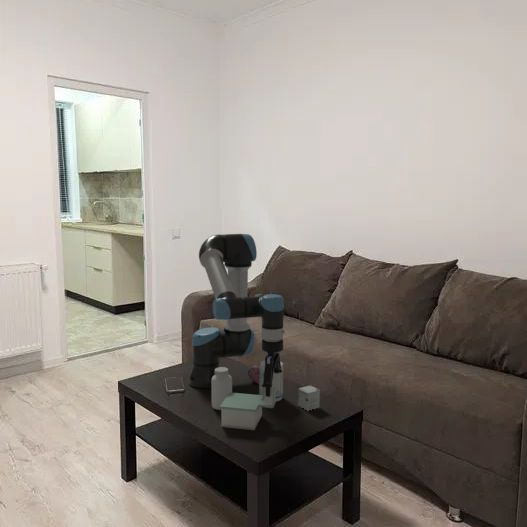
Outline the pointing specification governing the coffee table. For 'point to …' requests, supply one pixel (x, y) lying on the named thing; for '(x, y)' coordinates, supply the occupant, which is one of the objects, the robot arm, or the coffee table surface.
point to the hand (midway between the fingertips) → (272, 397)
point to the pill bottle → (220, 386)
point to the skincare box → (309, 398)
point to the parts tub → (240, 418)
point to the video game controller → (254, 374)
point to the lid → (245, 402)
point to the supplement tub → (261, 378)
